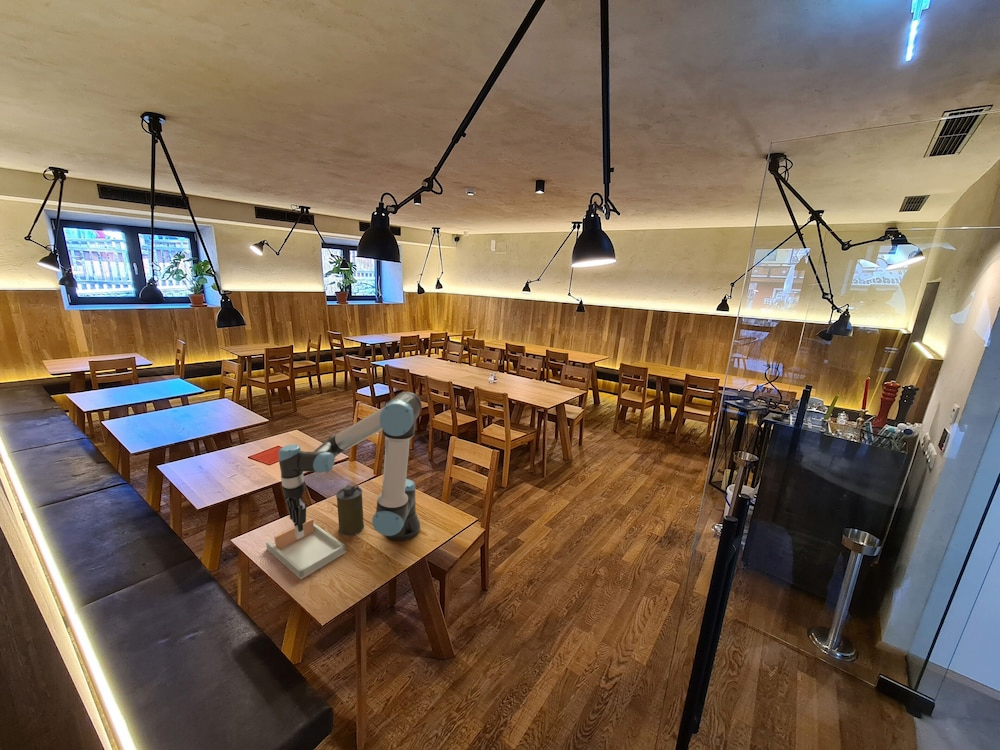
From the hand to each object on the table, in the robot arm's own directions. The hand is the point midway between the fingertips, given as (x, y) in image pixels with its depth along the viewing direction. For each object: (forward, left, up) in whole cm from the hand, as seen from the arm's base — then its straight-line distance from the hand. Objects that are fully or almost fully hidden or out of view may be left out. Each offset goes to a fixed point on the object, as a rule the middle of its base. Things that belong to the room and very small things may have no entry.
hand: (300, 536), depth 155 cm
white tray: (-4, +2, -4) cm, 6 cm away
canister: (-14, -15, -4) cm, 21 cm away
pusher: (+6, -3, -3) cm, 7 cm away
